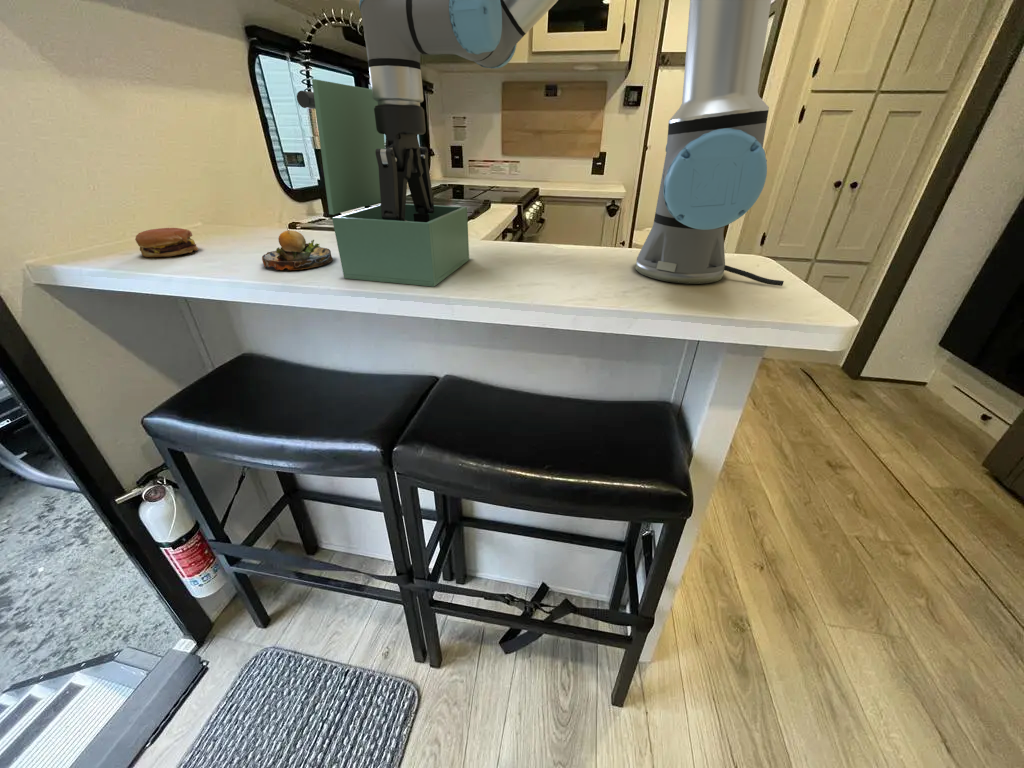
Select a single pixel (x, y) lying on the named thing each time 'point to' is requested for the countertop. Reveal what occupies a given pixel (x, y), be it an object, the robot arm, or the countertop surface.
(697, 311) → the countertop surface
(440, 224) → the cool box
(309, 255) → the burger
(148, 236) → the burger
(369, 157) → the cool box lid
